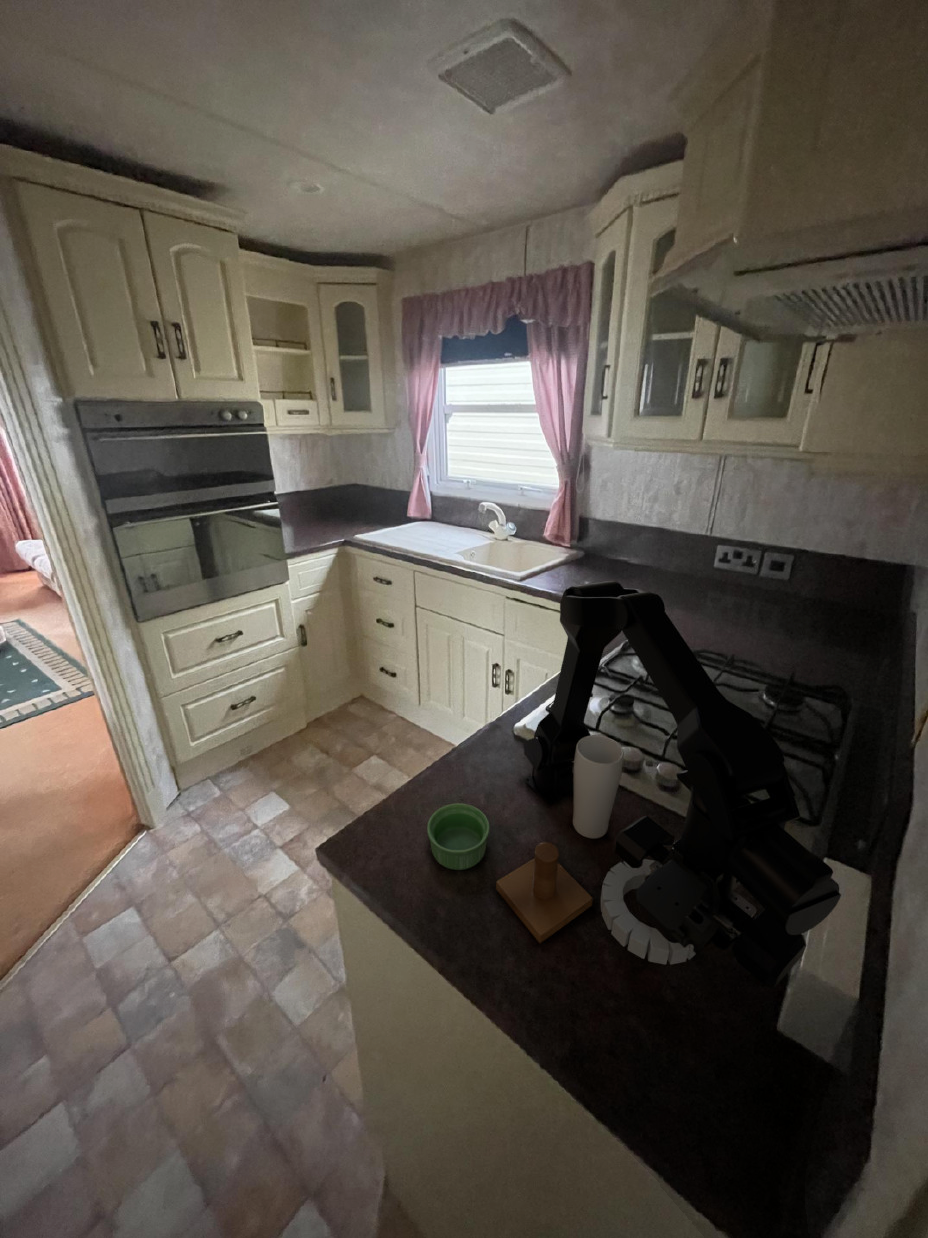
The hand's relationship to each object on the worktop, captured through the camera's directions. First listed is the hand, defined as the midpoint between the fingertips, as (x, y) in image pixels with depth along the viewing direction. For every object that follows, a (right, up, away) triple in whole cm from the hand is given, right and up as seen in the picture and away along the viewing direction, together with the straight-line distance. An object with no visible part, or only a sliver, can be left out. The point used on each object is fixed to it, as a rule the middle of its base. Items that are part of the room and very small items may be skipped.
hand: (686, 940), depth 58 cm
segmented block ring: (-3, +1, +4) cm, 5 cm away
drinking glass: (-6, +4, +22) cm, 23 cm away
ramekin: (-26, +2, +18) cm, 32 cm away
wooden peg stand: (-15, -1, +11) cm, 18 cm away
